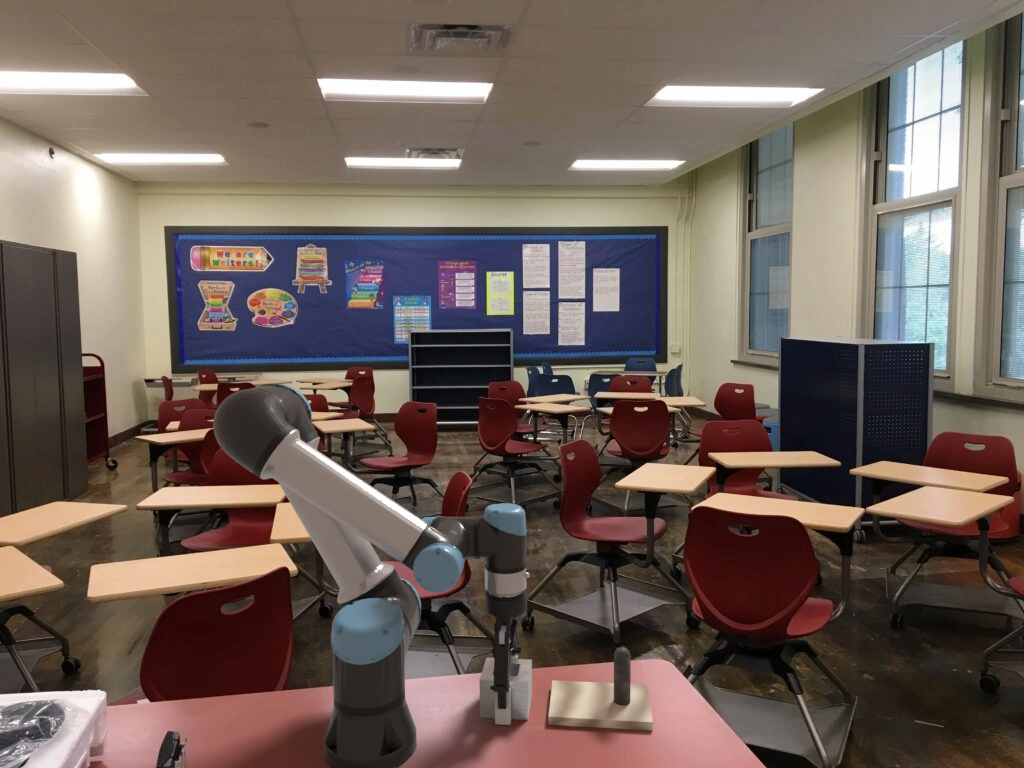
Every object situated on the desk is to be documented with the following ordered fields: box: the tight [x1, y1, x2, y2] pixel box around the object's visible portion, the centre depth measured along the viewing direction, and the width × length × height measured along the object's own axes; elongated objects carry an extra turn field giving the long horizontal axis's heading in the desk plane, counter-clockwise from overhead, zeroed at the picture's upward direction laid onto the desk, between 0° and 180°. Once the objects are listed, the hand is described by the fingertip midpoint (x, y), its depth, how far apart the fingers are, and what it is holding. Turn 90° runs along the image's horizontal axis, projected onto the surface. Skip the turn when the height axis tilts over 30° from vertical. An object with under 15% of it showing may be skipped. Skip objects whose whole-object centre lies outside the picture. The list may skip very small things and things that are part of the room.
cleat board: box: [547, 646, 654, 731], centre depth 131 cm, size 18×13×12 cm
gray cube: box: [479, 657, 533, 721], centre depth 132 cm, size 9×9×7 cm
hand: (507, 705), depth 133 cm, fingers open, 12 cm apart
